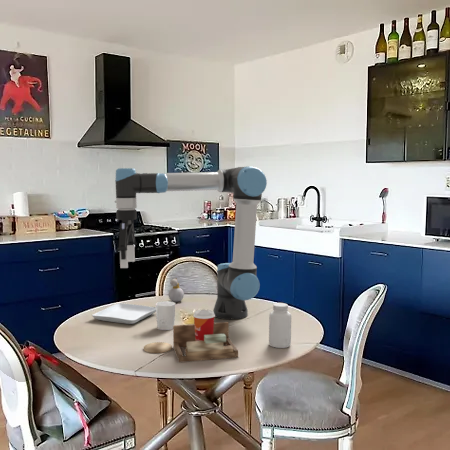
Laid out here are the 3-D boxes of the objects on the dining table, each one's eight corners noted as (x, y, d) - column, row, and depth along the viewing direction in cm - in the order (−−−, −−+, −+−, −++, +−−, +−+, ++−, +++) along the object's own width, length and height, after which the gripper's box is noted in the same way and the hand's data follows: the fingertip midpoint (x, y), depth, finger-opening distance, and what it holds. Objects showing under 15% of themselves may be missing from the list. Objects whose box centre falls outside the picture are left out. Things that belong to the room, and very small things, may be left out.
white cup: (172, 331, 203) (171, 306, 202) (153, 330, 204) (152, 305, 203) (177, 325, 211) (177, 301, 210) (159, 324, 212) (159, 300, 211)
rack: (227, 343, 189) (227, 321, 188) (238, 357, 174) (238, 334, 173) (173, 347, 184) (173, 325, 183) (179, 362, 170) (179, 338, 169)
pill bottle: (285, 350, 181) (285, 308, 180) (265, 346, 186) (265, 305, 184) (294, 343, 188) (295, 303, 187) (274, 340, 192) (275, 300, 191)
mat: (170, 342, 189) (170, 341, 189) (173, 352, 179) (173, 350, 179) (142, 344, 187) (142, 343, 187) (144, 354, 177) (144, 352, 177)
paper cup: (192, 347, 184) (192, 309, 183) (214, 347, 185) (214, 308, 183) (193, 355, 176) (193, 315, 175) (215, 354, 177) (215, 314, 175)
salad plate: (134, 327, 209) (133, 319, 208) (90, 322, 217) (90, 314, 216) (159, 314, 228) (159, 307, 228) (118, 309, 236) (118, 302, 236)
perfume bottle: (182, 299, 255) (182, 275, 254) (186, 303, 246) (186, 279, 245) (167, 300, 253) (167, 276, 252) (170, 305, 244) (170, 280, 243)
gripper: (123, 207, 207) (124, 259, 209) (108, 211, 182) (110, 270, 185) (141, 206, 207) (143, 259, 209) (130, 211, 182) (131, 270, 184)
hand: (127, 264), depth 197 cm, fingers open, 13 cm apart
